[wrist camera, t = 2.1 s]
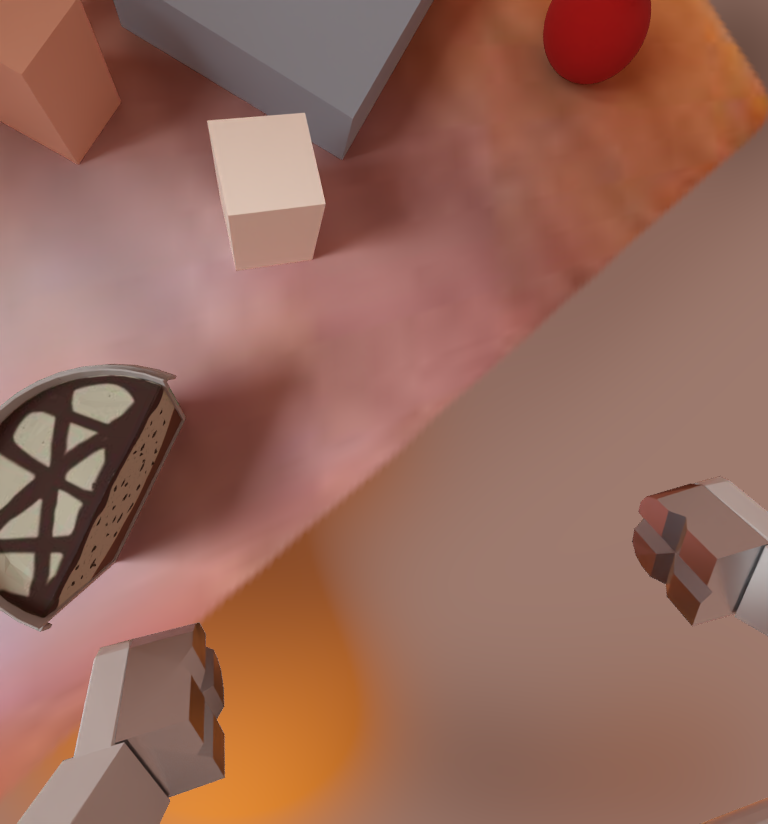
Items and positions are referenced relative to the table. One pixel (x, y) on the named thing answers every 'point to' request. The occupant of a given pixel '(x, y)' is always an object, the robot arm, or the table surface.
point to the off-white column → (268, 188)
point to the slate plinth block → (287, 52)
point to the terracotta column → (53, 75)
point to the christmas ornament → (594, 36)
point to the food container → (76, 479)
